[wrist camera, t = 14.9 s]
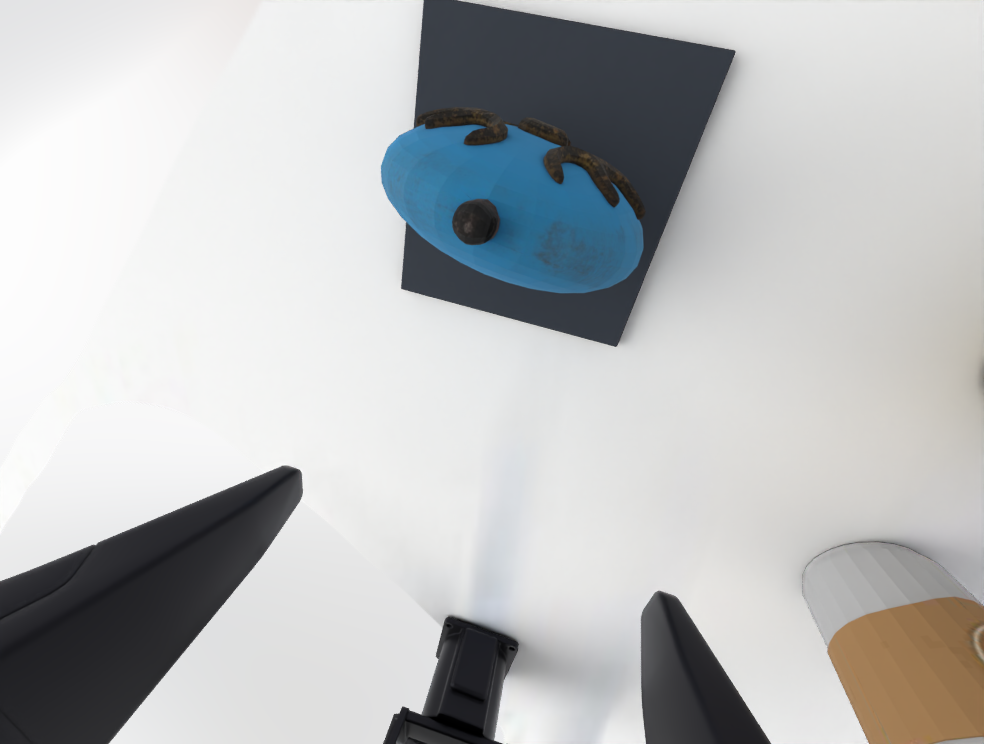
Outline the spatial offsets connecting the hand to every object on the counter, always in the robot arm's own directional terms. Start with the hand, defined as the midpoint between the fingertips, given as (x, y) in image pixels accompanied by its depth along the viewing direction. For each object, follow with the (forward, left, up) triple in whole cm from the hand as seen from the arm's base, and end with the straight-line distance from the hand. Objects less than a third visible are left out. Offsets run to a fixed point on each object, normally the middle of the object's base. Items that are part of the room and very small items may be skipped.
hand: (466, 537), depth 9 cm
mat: (+7, +2, -12) cm, 14 cm away
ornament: (+7, +1, -11) cm, 13 cm away
